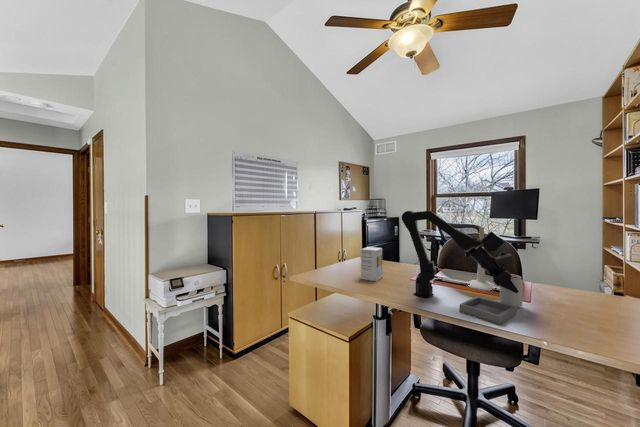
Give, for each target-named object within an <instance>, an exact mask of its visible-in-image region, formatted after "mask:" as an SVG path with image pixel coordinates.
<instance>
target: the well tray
mask: <svg viewBox="0 0 640 427" xmlns="http://www.w3.org/2000/svg"><path fill="white" fill-rule="evenodd" d="M459 312H460V313H462V312H463V313H462V314H465V315H468V314H469V315H468V316H472V317H474V316H475V317H474V318H478V319H480V320H482V321H483V320H484V321H486V322H489V323H492V324H495V325H498V326H501V325H503V324H505V323H506V322H507V321H509V320H511V319H512V318H513V317H515V316H516V315H517V308H516V307H515V306H512V305H508V304H504V303H501V302H500V301H496V300H492V299H490V298H485V297H482V296H477V295H476V296H474V297H472V298H470V299H468V300H466V301H463V302H461V303H459Z"/></svg>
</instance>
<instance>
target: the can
mask: <svg viewBox="0 0 640 427" xmlns="http://www.w3.org/2000/svg"><path fill="white" fill-rule="evenodd" d="M510 274H511V276H512V277H511V281H512V283H513V284H514V285H515V287H516V288H517V289H518V291H519V292H518V293H515V292H513V291H511V290H508V289H506V288H504V287H501V286H499V302H500V303H504V304H508V305H512V306H515V307H516V309H518V308H520V307H522V306H523V297H524V295H523V294H524V280H523V279H522V276H520V275H517V274H512V273H510Z"/></svg>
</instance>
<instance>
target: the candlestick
mask: <svg viewBox="0 0 640 427" xmlns="http://www.w3.org/2000/svg"><path fill="white" fill-rule="evenodd" d="M478 228H479V230H478V231H479V236H478V237H479V238H478V239H482V238H484V237H485V227H484V226H479V227H478ZM482 248H483V249H484V250H485V247H484V246H482ZM469 283H470V285H468V286H469V287H468V286H467V287H468V288H471V289H473V290H478V291H485V292H487V291H491V290H492V289H491V288H492V287H493V286H494V285H495V283H492V282H489V281H488V280H486V270H485V269H483V268H482V267H481V266H480V265H479V264H478V263H477V272H476V279H472V280H469ZM492 291H493V290H492ZM492 291H491V292H492Z"/></svg>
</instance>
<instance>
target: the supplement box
mask: <svg viewBox="0 0 640 427" xmlns="http://www.w3.org/2000/svg"><path fill="white" fill-rule="evenodd" d="M382 278H383V248H382V247H375V246H366V247H363V248H361V249H360V279H361V280H366V281H371V282H378V281H379V280H380V279H382Z"/></svg>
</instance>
